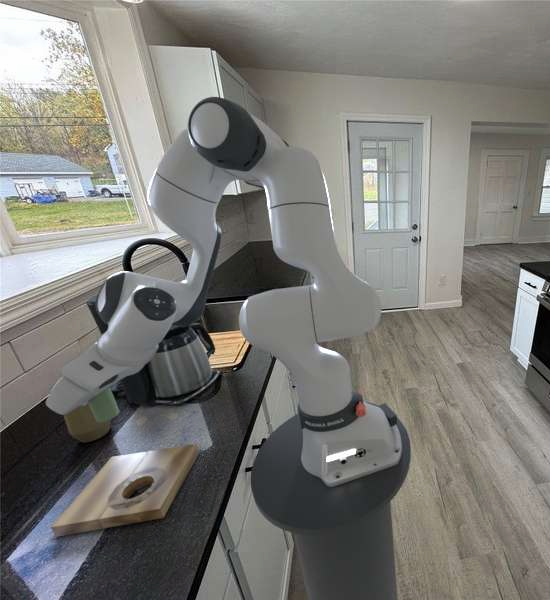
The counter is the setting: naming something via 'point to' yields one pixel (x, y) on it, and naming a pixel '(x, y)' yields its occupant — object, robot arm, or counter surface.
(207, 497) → the counter surface
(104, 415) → the green cylinder
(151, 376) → the coffee maker
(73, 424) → the squeeze bottle
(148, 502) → the wooden board with hole
